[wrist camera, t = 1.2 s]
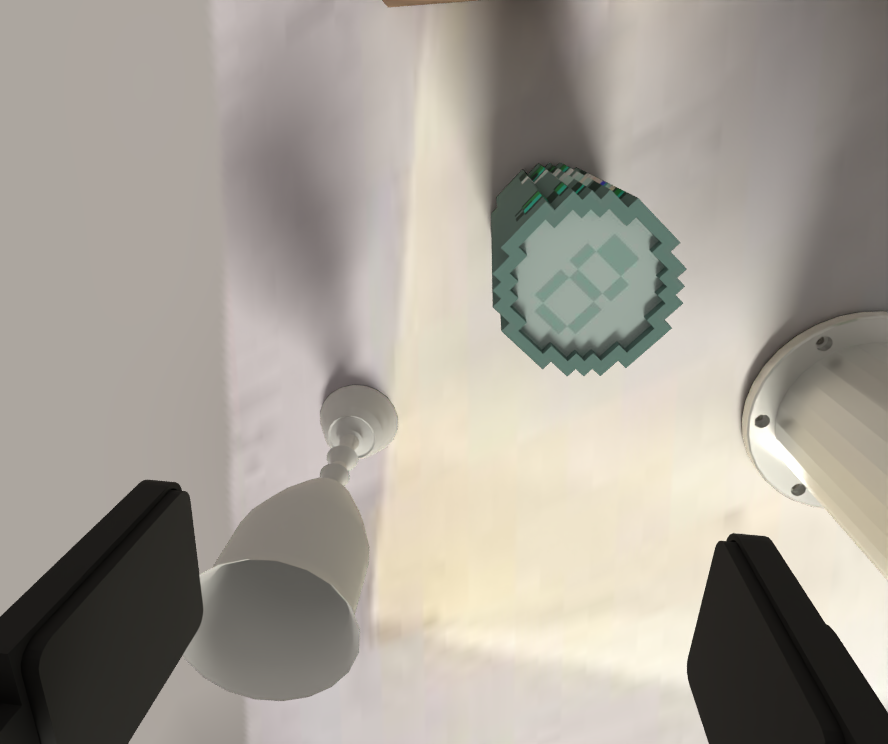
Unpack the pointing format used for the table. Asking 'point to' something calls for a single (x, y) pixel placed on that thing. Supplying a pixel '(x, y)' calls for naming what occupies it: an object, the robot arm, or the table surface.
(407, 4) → the walnut base
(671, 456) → the table surface
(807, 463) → the robot arm
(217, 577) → the chalice
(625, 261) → the can
